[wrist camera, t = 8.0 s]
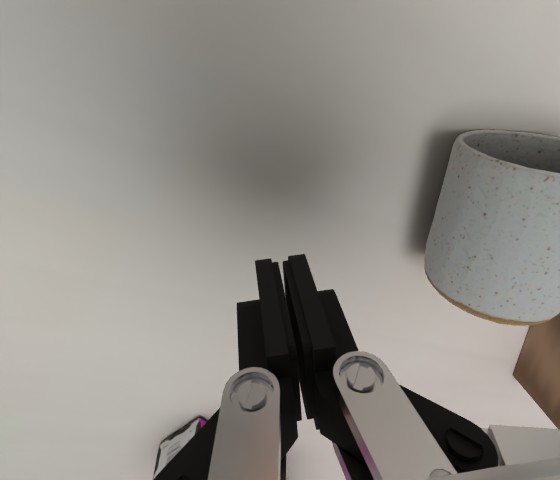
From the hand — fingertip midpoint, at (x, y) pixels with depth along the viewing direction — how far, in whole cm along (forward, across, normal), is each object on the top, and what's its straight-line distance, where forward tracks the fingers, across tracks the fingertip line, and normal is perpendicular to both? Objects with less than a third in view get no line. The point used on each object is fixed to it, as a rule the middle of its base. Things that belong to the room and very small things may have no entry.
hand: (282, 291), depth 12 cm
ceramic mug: (+9, -14, +2) cm, 16 cm away
